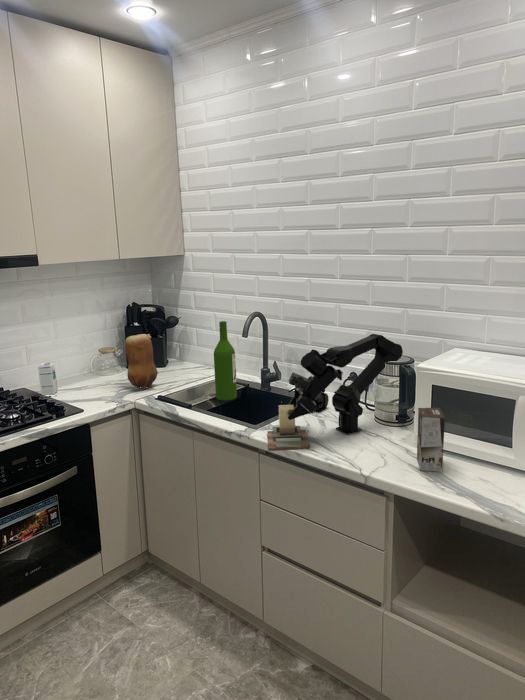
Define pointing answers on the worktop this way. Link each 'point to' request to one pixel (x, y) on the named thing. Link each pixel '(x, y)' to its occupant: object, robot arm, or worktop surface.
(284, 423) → the tan wooden block
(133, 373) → the butternut squash
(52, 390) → the syrup box
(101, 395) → the worktop surface
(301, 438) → the shunted jig
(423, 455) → the coffee box
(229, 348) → the wine bottle
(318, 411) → the end cap
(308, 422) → the worktop surface
